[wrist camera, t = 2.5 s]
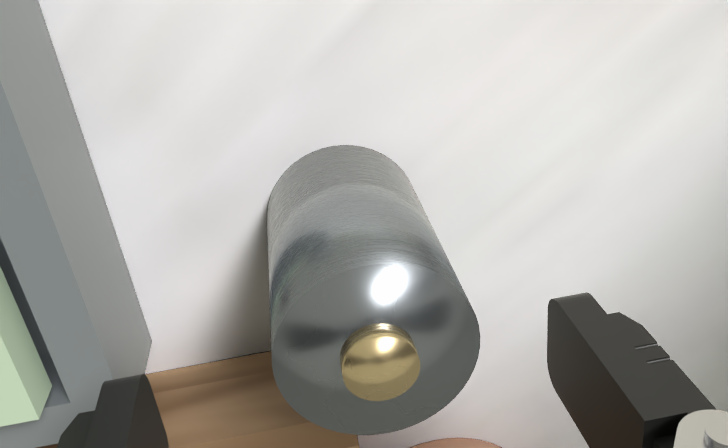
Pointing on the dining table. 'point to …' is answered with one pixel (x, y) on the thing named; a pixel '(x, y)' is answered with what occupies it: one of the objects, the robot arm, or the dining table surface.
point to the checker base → (58, 236)
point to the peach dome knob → (456, 443)
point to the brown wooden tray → (234, 408)
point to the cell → (362, 297)
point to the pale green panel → (19, 365)
